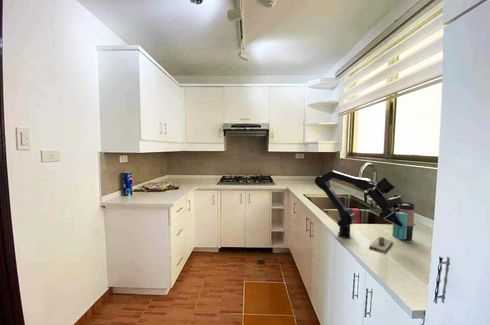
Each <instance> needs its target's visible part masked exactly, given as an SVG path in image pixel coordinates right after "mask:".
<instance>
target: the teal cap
mask: <svg viewBox="0 0 490 325" xmlns="http://www.w3.org/2000/svg"><path fill="white" fill-rule="evenodd" d="M396 216H397V218H398V219H399V221H400V222H401V223H402V225H403V226H402V227H400V226H398V225H396V224H394V223H392V237H393V238H394V239H398V240H400V239H406V235H407V214H406V213H403V212H396Z"/></svg>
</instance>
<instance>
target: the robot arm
mask: <svg viewBox="0 0 490 325" xmlns="http://www.w3.org/2000/svg"><path fill="white" fill-rule="evenodd" d="M333 179H335V180H339V181H340V182H341V181H342V182H345V183H347V184H350V185H353V186H354V187H356V188H357V189H360V190H362V191H364V192H363V193H364V194H363V197H364V198H367V197H369V198H370V199H371V201H373V202H374V205H375V206H376V207H378V208H379V209H380V210H381V211H380V212H379V213H378V217H379V218H380V219H381V220H383V219H384V220H386V221H388V222H391V223H392V224H393V223H394V224H396V225H398V226H400V227H402V226H403V225H402V223H401V222H400V221H399V219H398V218H397V216H396V212H400V208H398V207H400V206H401V205H400V204H401V203H403V202H404V199H403V196H402V195H399V194H398V193H397V194H394V195H393V197H391V198H390V197H388V196H385V195H384V194H389V193H390V192H391V191H393V190H394V189H396V188H397V185H396V183H395V182H394V181H392V180H391V179H390V178H388V177H386V176H384V177H383V178H382V179H381V180H379V181H378V182H377V181H372V179H370V178H366V177H356V176H353V175H349V174H345V173H342V172H340V171H336V170H331V171H329V172H327V173H325V174H322V175H319V176H316V177H315V179H314V183H315V185H316V186H317V187H318V188H319V189H321V190H322V191H323V192H324V194H326V196H327V197H328V198H329V200H330V201H331V203H332V205H334V206H333V207H335V208H336V210H337V211H338V215H339V218H340V220H338V221H337V226H338V227H339V230H338V231H337V232H338V237H340V238H346V239H351V238H352V235H351V225H352V224H353V223H355V221H356V219H357V217H356V213H355V212H354V211H353V209H352V208H347V207H346V205H345V204H344V203H343V201H342V200H341V199H340V197H339V196H338V195H337V194H336V192H335V191H334V189H333V188H332V187H331V182H330V180H333Z"/></svg>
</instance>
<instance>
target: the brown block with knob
mask: <svg viewBox="0 0 490 325" xmlns="http://www.w3.org/2000/svg"><path fill="white" fill-rule="evenodd" d="M393 242H394V241H393V240H391V239H387V238H385V237H384V236H378V237H377V238H376V239H375V240H374V241H373V242H371V244H370V245H369V249H370V250H374V251H377V252H381V253H386V252H387V251H388V250H389V248H390V247H391V246H392V244H393Z"/></svg>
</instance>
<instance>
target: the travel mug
mask: <svg viewBox="0 0 490 325" xmlns="http://www.w3.org/2000/svg"><path fill="white" fill-rule="evenodd" d="M400 205H401V206H400V207H398V208H400V212H403V213H406V214H407V235H406V239H399V240H400V241H403V242H411V241H413V233H414V224H415V223H414V221H415V220H414V219H415V204H414V203H410V202H403V203H401V204H400ZM398 208H397V209H398Z"/></svg>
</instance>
